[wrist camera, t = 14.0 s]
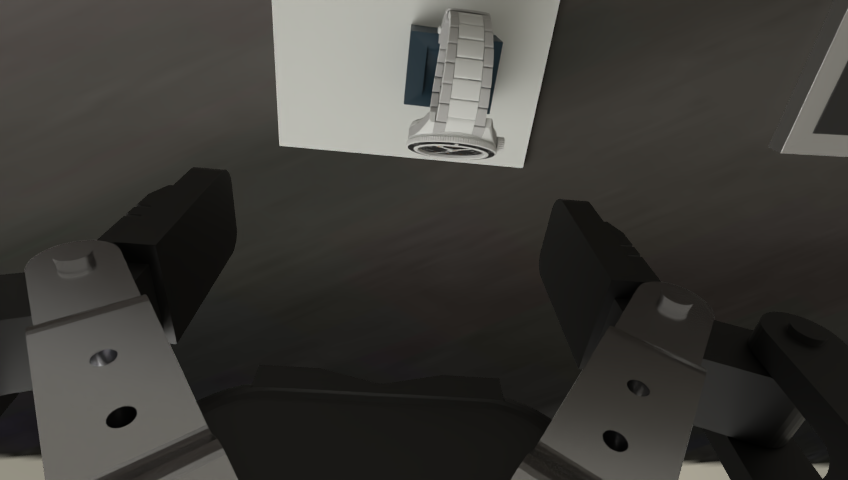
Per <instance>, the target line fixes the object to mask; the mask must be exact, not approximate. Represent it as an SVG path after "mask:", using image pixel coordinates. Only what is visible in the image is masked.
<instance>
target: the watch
mask: <svg viewBox="0 0 848 480" xmlns="http://www.w3.org/2000/svg"><path fill="white" fill-rule="evenodd" d="M502 46H503V42H502V41H501V40H500V39H499V38H498V37H497V36H496V35H493V27H492V20H491V15H490V14H489V13H486V12H480V11H474V10H467V9H458V8H448V9H447V10H446V11H445V14H444V17H443V20H442V24H441V26H439V27H438V28H436V27H428V26H420V25H412V24H411V31H410V41H409V52H408V62H407V72H406V83H405V93H404V104H406V105H415V106H423V107H430V112H428V113H427V114H426V116H425V117H424V118H421V119H417V120H415V121H413V122H412V123H411V125H410V127H409V134H408V140H407V142H406V147H407V148H408V149H409V150H411V151H413V152H415V153H418V154H422V155H426V156H431V157H437V158H445V159H457V160H479V159H487V158H491V157H494V156H495V155H496V154H497V151H501V152H502V151H503V149H504V144H505V138H504V137H497V133H496V131H495V129H494V127H493V120H492V119H491V118H486V117H487V114H490V109H491V104H492V98H493V93H494V88H495V83H496V77H497V72H498V67H499V61H500V56H501V51H502Z"/></svg>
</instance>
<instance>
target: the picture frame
mask: <svg viewBox="0 0 848 480" xmlns="http://www.w3.org/2000/svg"><path fill="white" fill-rule="evenodd" d="M768 147H769V148H771V149H773V150H775V151H777V152H779V153H785V154H803V155H822V156H840V157H848V0H834V1H833V3H832V5H831V8H830V10H829V12H828V14H827V17H826V19H825V21H824V23H823V26H822V28H821V30H820V32H819V34H818V37H817V39H816V41H815V43H814V46H813V48H812V50H811V52H810V55H809V57H808V59H807V61H806V63H805V66H804V68H803V70H802V72H801V75H800V77H799V79H798V81H797V84H796V86H795V88H794V90H793V92H792V95H791V97H790V99H789V101H788V104H787V106H786V108H785V110H784V113H783V115H782V117H781V119H780V122H779V124H778V126H777V128H776V130H775V133H774V135H773V137H772V139H771V142H770V144H769V146H768Z"/></svg>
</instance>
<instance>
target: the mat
mask: <svg viewBox="0 0 848 480" xmlns="http://www.w3.org/2000/svg"><path fill="white" fill-rule="evenodd" d="M559 3H560V0H272V14H273V33H274V52H275V71H276V89H277V108H278V127H279V146H289V147H300V148H311V149H322V150H332V151H343V152H354V153H365V154H376V155H387V156H398V157H409V158H419V159H430V160H441V161H452V162H463V163H474V164H485V165H496V166H506V167H517V168H523V165H524V160H525V156H526V151H527V147H528V142H529V138H530V133H531V129H532V124H533V120H534V115H535V111H536V106H537V102H538V97H539V93H540V88H541V84H542V79H543V75H544V70H545V66H546V61H547V57H548V52H549V48H550V43H551V39H552V34H553V30H554V25H555V21H556V16H557V12H558V8H559ZM448 8H458V9H467V10H474V11H480V12H486V13H489V14H490V15H491V20H492V27H493V35H496V36H497V37H498V38H499V39H500V40H501V41H502V42H503V46H502V51H501V56H500V61H499V67H498V72H497V77H496V83H495V88H494V93H493V98H492V104H491V109H490V114H487V117H486V118H491V119H492V120H493V127H494V129H495V131H496V133H497V137H504V138H505V144H504V149H503V151H502V152H501V151H497V154H496V155H495V156H494V157H491V158H487V159H479V160H457V159H445V158H437V157H431V156H426V155H422V154H418V153H415V152H413V151H411V150H409V149H408V148H407V147H406V142H407V140H408V134H409V127H410V125H411V123H412V122H413V121H415V120H417V119H421V118H424V117H425V116H426V114H427V113H428V112H430V107H423V106H415V105H406V104H404V93H405V83H406V72H407V62H408V52H409V41H410V31H411V24H412V25H420V26H428V27H436V28H438V27H439V26H441V24H442V20H443V17H444V14H445V11H446V10H447V9H448Z"/></svg>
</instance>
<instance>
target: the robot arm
mask: <svg viewBox="0 0 848 480" xmlns="http://www.w3.org/2000/svg"><path fill="white" fill-rule="evenodd" d="M236 237H237V228H236V218H235V209H234V200H233V191H232V183H231V177H230V174H229V172H228V171H227V170H220V169H209V168H197V167H193V168H191V169H190V170H189V171H188V172H187V173H186V174H185V175H184V176H183V177H182V178H181V179H180V180H178V181H177V182H176V183H175V184H174V185H168V186H166V187H163V188H161V189H159V190H157V191H154V192H152V193H150V194H148V195H147V196H146V197H145V198H144V199H143V200H142V201H140V202H139V203H138V204H137V207H134V208H132V209H131V210H130V211H129V212H128V213H127V216H123V217H122V218H121V219H120V220H119V221H118V222H117V223H116V224H114V225H113V226H112V227H111V228H110V229H109V230H108V231H107V232H105V233H104V234H103V235H102V236H101V237H100V238H99V239H98V240H83V241H75V242H69V243H65V244H61V245H58V246H55V247H52V248H50V249H47V250H45V251H43V252H41V253H39V254H38V255H36V256H34V257H33V258H32V259H31V260H30V261H29V262H28V263H27V265H26V267H25V272H24V273H15V274H5V275H0V416H1V415H2V414H3V412H4V411H5V410H6V409H7V408H8V406H9V405H10V404H11V403H12V402H13V400H14V399H15V398H16V397H17V395H18V394H19V392H24V391H29V390H33V394H34V401H35V409H36V416H37V423H38V431H39V438H40V446H41V453H42V460H43V468H44V475H45V480H678V478H679V474H680V471H681V467H682V463H683V460H684V456H685V452H686V448H687V444H688V441H689V437H690V433H691V429H692V426H693V425H694V426H697V427H701V428H703V430H704V432H705V434H706V436H707V438H708V440H709V442H710V443H711V445H712V447H713V449H714V451H715V452H716V454H717V456H718V458H719V460H720V461H721V463H722V465H723V467H724V469H725V470H726V472H727V474H728V476H729V478H730V479H731V480H848V346H847V345H846V344H845V343H844V342H843V341H842V340H841V339H840V338H838V337H837V336H836V335H835V334H833V333H832V332H830V331H829V330H827V329H826V328H824V327H822V326H820V325H818V324H817V323H814V322H812V321H810V320H808V319H805V318H802V317H799V316H796V315H793V314H789V313H783V312H769V313H766V314H764V315H763V316H762V317H761V319H760V320H759V322H758V324H757V325H756V327H755V329H754V330H749V329H746V328H742V327H738V326H734V325H730V324H727V323H723V322H719V321H716V320H714V312H713V310H712V308H711V307H710V306H709V305H708V304H707V303H706V302H705V301H704V300H703V299H702V298H700V297H699V296H697V295H696V294H694V293H693V292H691V291H689V290H687V289H684V288H682V287H679V286H677V285H673V284H670V283H665V282H661V281H660V280H659V278H658V277H657V276H656V275H655V273H654V272H653V271H652V269H651V268H650V267H649V266H648V264H647V263H646V262H645V260H644V259H643V258H642V257H640V254H639V253H638V251H637V250H636V249H635V248H634V247H632V244H631V242H630V241H629V240H628V238H627V237H626V236H625V235H624V233H623V232H621V231H620V230H618V229H617V228H615V227H614V226H612V225H611V224H609V223H608V222H603V220H602V219H601V217H600V216H599V215H598V213H597V212H596V211H595V209H594V208H593V207H592V205H591V204H590V203H589V202H588V201H576V200H565V199H558V200H557V201H556V202H555V203H554V206H553V208H552V212H551V215H550V219H549V223H548V227H547V230H546V234H545V238H544V242H543V245H542V249H541V253H540V260H539V270H540V275H541V278H542V281H543V283H544V286H545V288H546V290H547V293H548V295H549V298H550V300H551V303H552V305H553V308H554V310H555V312H556V315H557V317H558V320H559V322H560V325H561V327H562V330H563V332H564V335H565V337H566V339H567V342H568V344H569V347H570V349H571V352H572V354H573V357H574V359H575V361H576V364H577V366H578V369H583V370H582V372H581V373H580V375H579V377H578V378H577V380H576V382H575V383H574V385H573V387H572V388H571V390H570V391H569V393H568V395H567V396H566V398H565V400H564V401H563V403H562V405H561V406H560V408H559V410H558V411H557V413H556V414H555V416H554V418H553V419H550V418H549V417H547V416H545V415H544V414H542V413H540V412H539V411H537V410H535V409H533V408H531V407H529V406H527V405H525V404H522V403H519V402H517V401H514V400H511V399H508V398H505V397H503V393H502V389H501V384H500V379H499V378H483V377H465V376H448V375H440V376H433V377H426V378H420V379H413V380H406V381H399V382H393V383H385V384H380V383H374V382H370V381H366V380H363V379H359V378H355V377H351V376H347V375H344V374H340V373H336V372H332V371H329V370H325V369H321V368H308V367H290V366H273V365H259V367H258V370H257V373H256V375H255V378H254V381H253V383H252V384H246V385H241V386H237V387H233V388H229V389H226V390H223V391H220V392H217V393H214V394H211V395H209V396H207V397H205V398H202V399H200V400H198V401H196V400H195V398H194V396H193V393H192V391H191V389H190V387H189V385H188V383H187V380H186V378H185V376H184V374H183V372H182V370H181V367H180V365H179V363H178V361H177V359H176V357H175V355H174V352H173V350H172V348H171V346H170V344H169V343H172V344H177V343H178V341H179V339H180V338H181V336H182V335H183V333H184V331H185V330H186V328H187V326H188V325H189V323H190V322H191V320H192V318H193V317H194V315H195V313H196V312H197V310H198V309H199V307H200V305H201V304H202V302H203V300H204V299H205V297H206V295H207V294H208V292H209V291H210V289H211V287H212V286H213V284H214V282H215V281H216V279H217V278H218V276H219V274H220V273H221V271H222V269H223V268H224V266H225V265H226V263H227V261H228V260H229V258H230V256H231V255H232V253H233V251H234V248H235V244H236ZM805 419H806V421H807V422H808V423H809V424H810V426H811V427H812V428H813V429H814V431H815V432H816V433H817V435H818V436H819V437H820V438H821V440H822V441H823V443H824V444H825V446H826V448H827V451H828V454H829V461H830V464H829V470H828V473H827V474H826V476H825V477H824V478H823V479H822V478H821V476H820V475H819V474H818V472H817V471H816V469H815V468H814V467H813V465H812V464H811V463H810V461H809V460H808V458H807V457H806V456H805V454H804V453H803V452H802V450H801V449H800V448H799V446H798V445H797V444H796V442H795V441H794V439H793V438H792V436H793V435H794V433H795V432H796V431H797V429H798V428H799V427H800V426H801V424H802V423H803V422H804V420H805Z"/></svg>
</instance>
